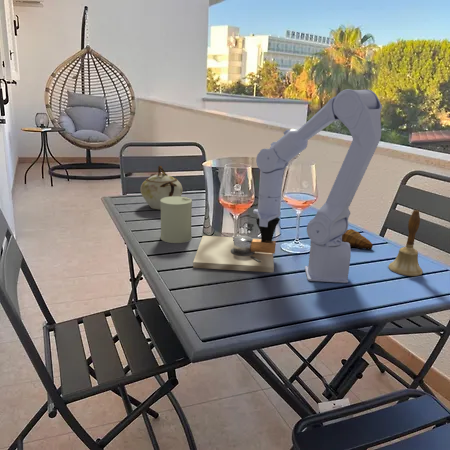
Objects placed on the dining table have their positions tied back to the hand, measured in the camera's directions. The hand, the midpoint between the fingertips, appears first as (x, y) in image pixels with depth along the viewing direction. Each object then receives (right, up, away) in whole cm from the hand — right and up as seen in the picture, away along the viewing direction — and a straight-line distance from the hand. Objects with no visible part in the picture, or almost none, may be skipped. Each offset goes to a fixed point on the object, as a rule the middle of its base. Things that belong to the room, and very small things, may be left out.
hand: (266, 244), depth 120 cm
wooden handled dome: (-3, -2, -1) cm, 4 cm away
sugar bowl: (-34, +12, +44) cm, 57 cm away
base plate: (-8, -3, +1) cm, 9 cm away
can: (-25, +1, +13) cm, 29 cm away
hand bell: (+35, -6, -4) cm, 36 cm away
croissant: (+26, -1, +13) cm, 29 cm away
